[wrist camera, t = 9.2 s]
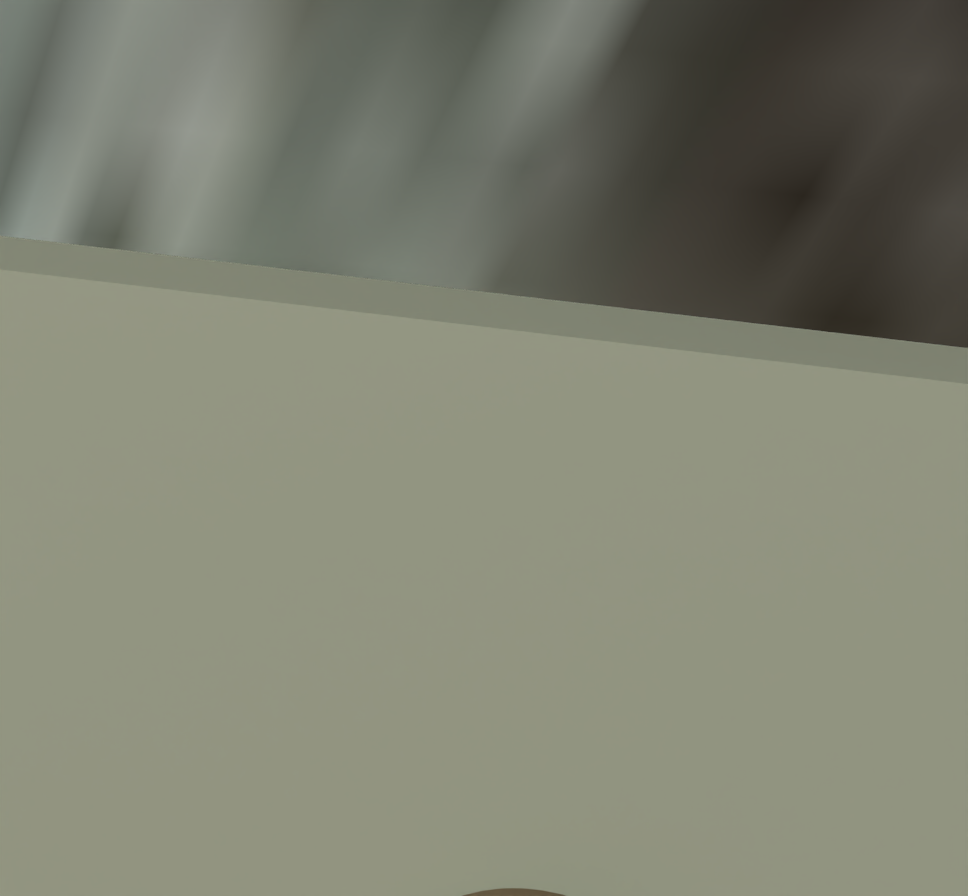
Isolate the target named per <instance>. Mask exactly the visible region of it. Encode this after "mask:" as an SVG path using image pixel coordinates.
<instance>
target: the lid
mask: <svg viewBox="0 0 968 896" xmlns="http://www.w3.org/2000/svg"><path fill="white" fill-rule="evenodd" d="M0 896H968V348H962V347H954V346H945V345H936V344H928V343H919V342H910V341H902V340H893V339H885V338H876V337H867V336H859V335H850V334H842V333H833V332H824V331H816V330H807V329H798V328H790V327H781V326H773V325H764V324H755V323H747V322H738V321H730V320H721V319H712V318H704V317H695V316H686V315H678V314H669V313H661V312H652V311H643V310H635V309H626V308H618V307H609V306H600V305H592V304H583V303H574V302H566V301H557V300H549V299H540V298H531V297H523V296H514V295H506V294H497V293H488V292H480V291H471V290H462V289H454V288H445V287H437V286H428V285H419V284H411V283H402V282H394V281H385V280H376V279H368V278H359V277H350V276H342V275H333V274H325V273H316V272H307V271H299V270H290V269H281V268H273V267H264V266H256V265H247V264H238V263H230V262H221V261H213V260H204V259H195V258H187V257H178V256H169V255H161V254H152V253H144V252H135V251H126V250H118V249H109V248H101V247H92V246H83V245H75V244H66V243H57V242H49V241H40V240H32V239H23V238H14V237H6V236H0Z"/></svg>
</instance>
